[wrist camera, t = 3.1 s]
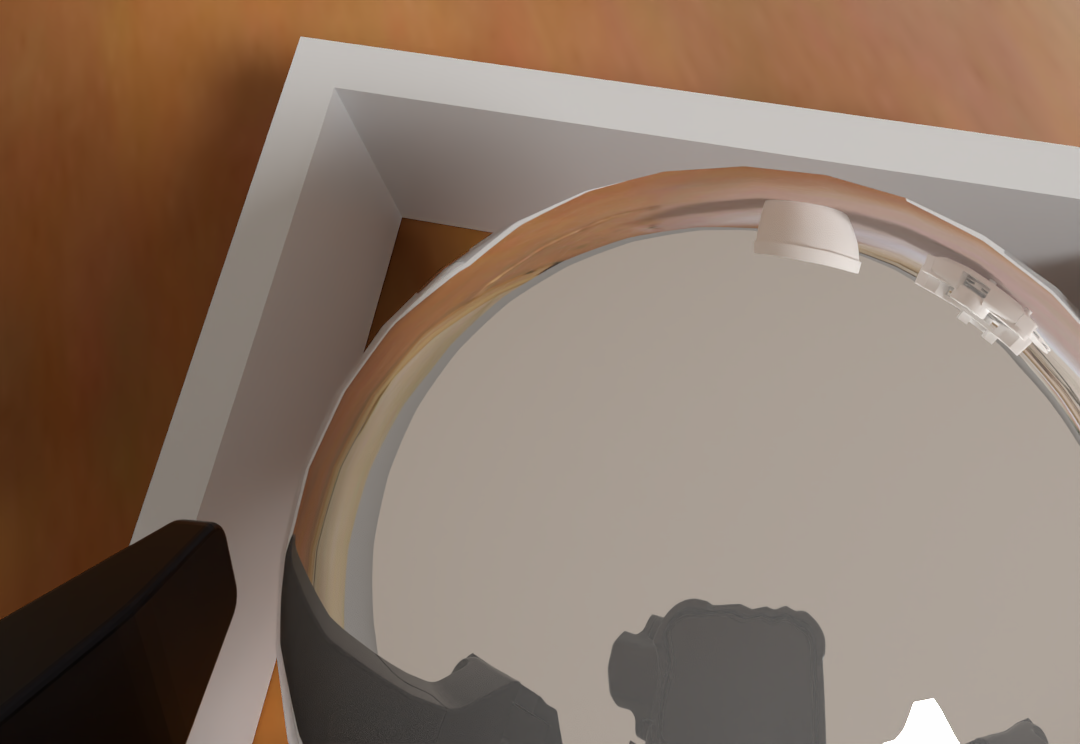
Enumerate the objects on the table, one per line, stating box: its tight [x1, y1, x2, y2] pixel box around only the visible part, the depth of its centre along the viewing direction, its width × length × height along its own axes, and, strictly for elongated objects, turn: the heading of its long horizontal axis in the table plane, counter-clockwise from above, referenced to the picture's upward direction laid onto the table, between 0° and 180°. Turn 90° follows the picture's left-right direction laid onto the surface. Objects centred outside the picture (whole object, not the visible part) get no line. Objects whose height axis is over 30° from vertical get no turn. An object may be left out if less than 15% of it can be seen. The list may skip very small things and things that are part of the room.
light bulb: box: [275, 166, 1080, 744], centre depth 10 cm, size 7×7×12 cm
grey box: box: [129, 37, 1080, 744], centre depth 13 cm, size 15×15×4 cm
